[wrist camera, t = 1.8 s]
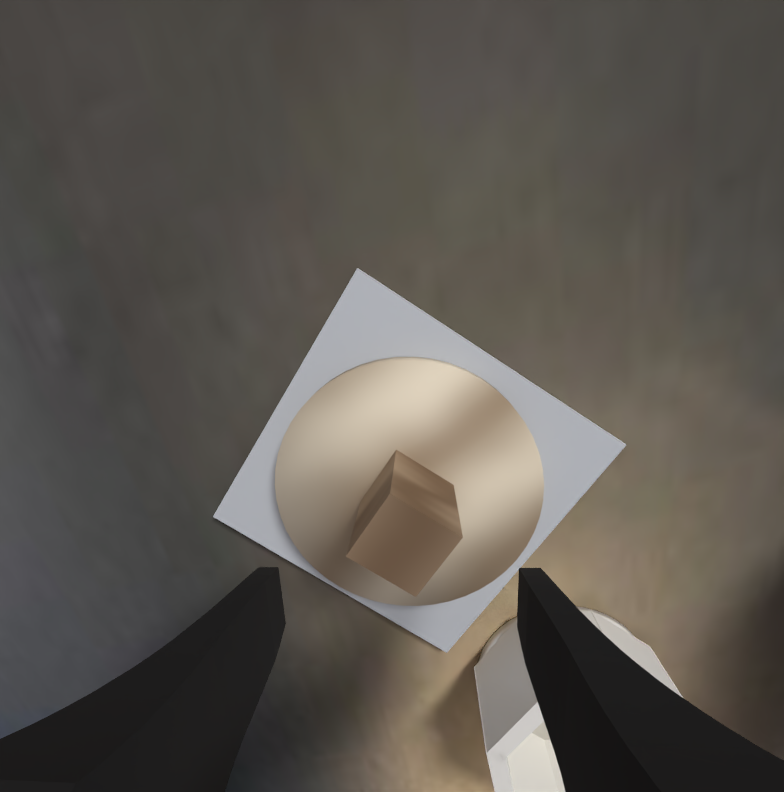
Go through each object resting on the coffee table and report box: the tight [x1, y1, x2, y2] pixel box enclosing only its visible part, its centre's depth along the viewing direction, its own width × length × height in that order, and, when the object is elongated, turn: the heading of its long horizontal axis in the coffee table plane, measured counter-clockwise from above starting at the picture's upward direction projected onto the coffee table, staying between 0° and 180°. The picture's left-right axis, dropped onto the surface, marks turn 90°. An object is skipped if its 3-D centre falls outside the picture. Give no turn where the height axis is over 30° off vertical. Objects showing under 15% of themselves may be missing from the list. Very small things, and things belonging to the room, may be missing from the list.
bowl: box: [474, 606, 683, 792], centre depth 20 cm, size 9×9×5 cm
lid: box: [275, 357, 544, 606], centre depth 17 cm, size 12×12×5 cm
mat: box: [213, 268, 626, 653], centre depth 20 cm, size 14×14×1 cm
